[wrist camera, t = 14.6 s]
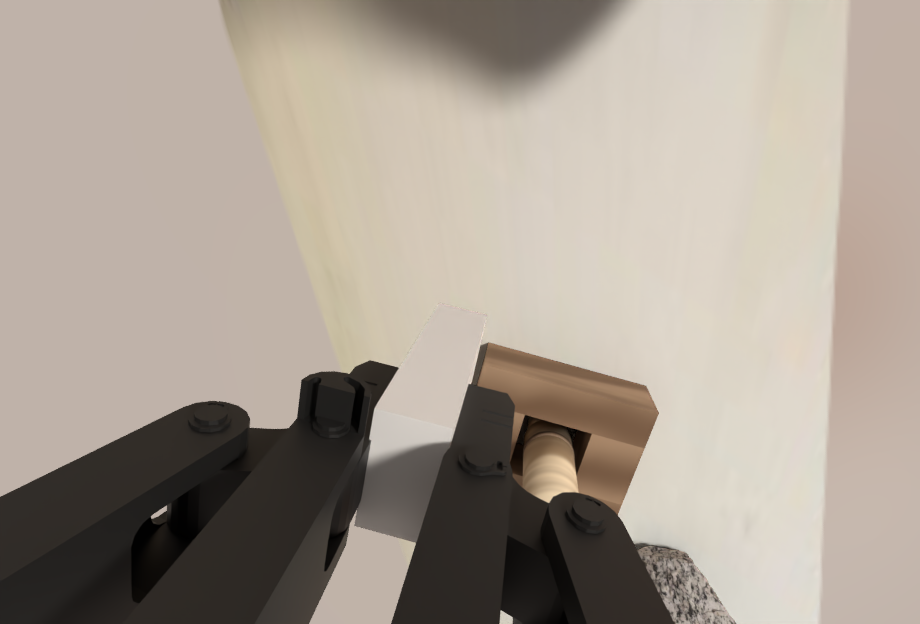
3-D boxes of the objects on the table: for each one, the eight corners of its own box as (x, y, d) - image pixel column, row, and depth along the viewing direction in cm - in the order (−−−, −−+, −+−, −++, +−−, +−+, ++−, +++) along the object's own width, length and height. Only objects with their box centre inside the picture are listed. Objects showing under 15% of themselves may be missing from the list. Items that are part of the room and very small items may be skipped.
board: (488, 342, 47) (483, 364, 42) (646, 386, 46) (658, 413, 42) (456, 457, 51) (448, 489, 46) (601, 499, 50) (608, 536, 45)
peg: (530, 397, 48) (530, 492, 35) (575, 410, 48) (592, 510, 35) (518, 436, 49) (513, 543, 36) (562, 449, 49) (573, 560, 36)
